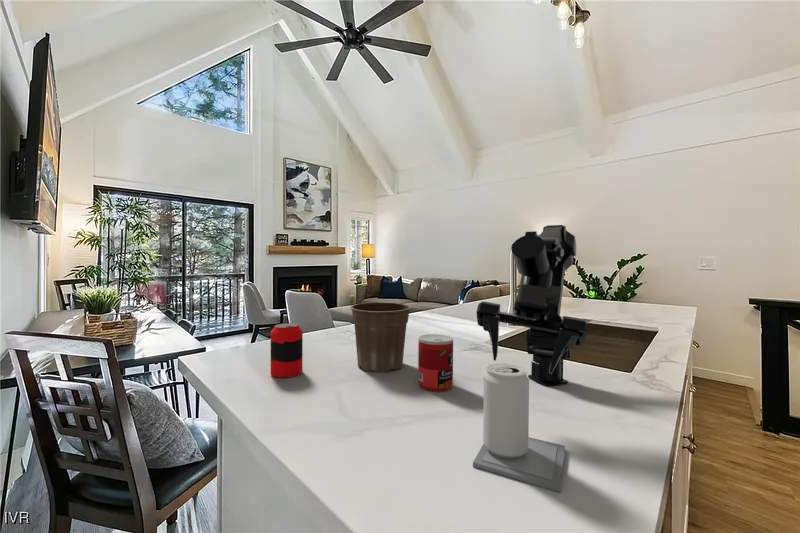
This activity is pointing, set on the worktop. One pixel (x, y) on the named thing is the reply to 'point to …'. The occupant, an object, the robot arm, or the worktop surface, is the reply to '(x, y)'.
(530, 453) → the coaster
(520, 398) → the beverage can
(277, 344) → the soda can
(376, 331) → the plant pot
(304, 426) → the worktop surface
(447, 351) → the canned food
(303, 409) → the worktop surface
